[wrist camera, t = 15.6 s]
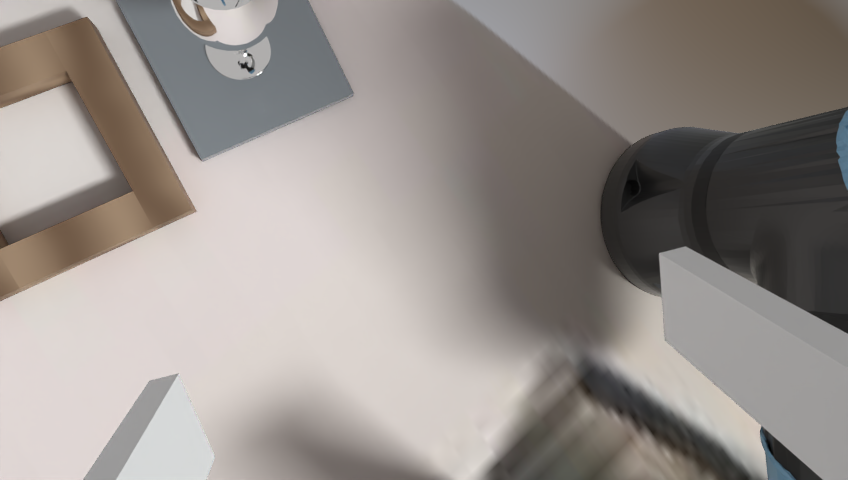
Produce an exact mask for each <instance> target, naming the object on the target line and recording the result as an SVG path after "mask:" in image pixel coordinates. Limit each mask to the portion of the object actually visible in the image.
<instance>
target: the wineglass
mask: <svg viewBox="0 0 848 480" xmlns="http://www.w3.org/2000/svg"><path fill="white" fill-rule="evenodd" d="M169 2H170V4H171V7H172V9H173V11H174V13H175V15H176V17H177V18H178V20H179V21H180V23H181V24H182V25H183V27H184V28H185V29H186V30H187V31H188V32H189V33H190V34H191V35H192V36H194V37H195V38H196V39H197V40H199V41H200V42H202V43H204V44H205V50H206V55H207V58H208V60H209V62H210V64H211V65H212V66H213V67H214V69H215V70H217V71H218V72H219V73H220V74H222V75H223V76H225V77H227V78H230V79H234V80H249V79H252V78H255V77H257V76H258V75H260V74H261V73H262V72H263V71H264V70H265V69H266V68H267V66H268V64H269V62H270V58H271V46H270V42H269V40H268V37H267V35H268V33H269V32H270V30H271V29H272V27H273V25H274V22H275V19H276V16H277V13H278V6H279V0H169Z"/></svg>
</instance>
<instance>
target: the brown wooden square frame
mask: <svg viewBox="0 0 848 480" xmlns="http://www.w3.org/2000/svg"><path fill="white" fill-rule="evenodd" d="M71 81H72V82H73V84H74V86H75V88H76V89H77V91H78V93H79V95H80V97H81V98H82V100H83V102H84V104H85V106H86V107H87V109H88V111H89V113H90V115H91V116H92V118H93V120H94V122H95V124H96V125H97V127H98V129H99V131H100V133H101V134H102V136H103V138H104V140H105V142H106V144H107V145H108V147H109V149H110V151H111V153H112V154H113V156H114V158H115V160H116V162H117V163H118V165H119V167H120V169H121V171H122V172H123V174H124V176H125V178H126V180H127V181H128V183H129V185H130V187H131V189H132V190H133V191H132V192H130V193H128V194H125V195H123V196H121V197H118V198H116V199H114V200H112V201H109V202H107V203H105V204H102V205H100V206H98V207H96V208H93V209H91V210H89V211H86V212H84V213H82V214H79V215H77V216H75V217H73V218H70V219H68V220H66V221H63V222H61V223H59V224H57V225H54V226H52V227H50V228H47V229H45V230H43V231H40V232H38V233H36V234H34V235H31V236H29V237H27V238H24V239H22V240H20V241H17V242H15V243H13V244H11V245H9V244H8V243H7V241H6V239H5V238H4V236H3V234H2V232H1V231H0V301H2V300H4V299H6V298H8V297H10V296H13V295H15V294H17V293H19V292H21V291H24V290H26V289H28V288H30V287H32V286H34V285H37V284H39V283H41V282H43V281H45V280H48V279H50V278H52V277H54V276H56V275H58V274H61V273H63V272H65V271H67V270H69V269H72V268H74V267H76V266H78V265H80V264H83V263H85V262H87V261H89V260H91V259H93V258H96V257H98V256H100V255H102V254H104V253H107V252H109V251H111V250H113V249H115V248H118V247H120V246H122V245H124V244H126V243H128V242H131V241H133V240H135V239H137V238H139V237H142V236H144V235H146V234H148V233H150V232H152V231H155V230H157V229H159V228H161V227H163V226H166V225H168V224H170V223H172V222H174V221H177V220H179V219H181V218H183V217H185V216H187V215H190V214H192V213H194V212H196V209H195V208H194V206H193V204H192V202H191V200H190V198H189V197H188V195H187V193H186V191H185V189H184V187H183V185H182V184H181V182H180V180H179V178H178V176H177V174H176V173H175V171H174V169H173V167H172V165H171V163H170V162H169V160H168V158H167V156H166V154H165V152H164V150H163V149H162V147H161V145H160V143H159V141H158V139H157V138H156V136H155V134H154V132H153V130H152V128H151V127H150V125H149V123H148V121H147V119H146V117H145V115H144V114H143V112H142V110H141V108H140V106H139V104H138V103H137V101H136V99H135V97H134V95H133V93H132V92H131V90H130V88H129V86H128V84H127V82H126V80H125V79H124V77H123V75H122V73H121V71H120V69H119V68H118V66H117V64H116V62H115V60H114V58H113V56H112V55H111V53H110V51H109V49H108V47H107V45H106V44H105V42H104V40H103V38H102V36H101V34H100V33H99V31H98V29H97V27H96V26H95V25H94V24H93V23H92V22H91V21H90V19H89V18H88V17H85V18H82V19H79V20H76V21H74V22H71V23H68V24H65V25H62V26H59V27H56V28H54V29H51V30H48V31H45V32H42V33H39V34H37V35H34V36H31V37H28V38H25V39H22V40H19V41H17V42H14V43H11V44H8V45H5V46H2V47H0V108H3V107H5V106H8V105H10V104H13V103H16V102H18V101H21V100H24V99H26V98H29V97H32V96H34V95H37V94H40V93H42V92H45V91H48V90H50V89H53V88H56V87H58V86H61V85H64V84H66V83H69V82H71Z"/></svg>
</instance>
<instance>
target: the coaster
mask: <svg viewBox="0 0 848 480" xmlns="http://www.w3.org/2000/svg"><path fill="white" fill-rule="evenodd" d="M116 2H117V3H118V5H119V7H120V9H121V11H122V13H123V15H124V17H125V18H126V20H127V22H128V24H129V26H130V28H131V30H132V31H133V33H134V35H135V37H136V39H137V41H138V43H139V45H140V46H141V48H142V50H143V52H144V54H145V56H146V58H147V59H148V61H149V63H150V65H151V67H152V69H153V71H154V73H155V74H156V76H157V78H158V80H159V82H160V84H161V86H162V88H163V89H164V91H165V93H166V95H167V97H168V99H169V101H170V102H171V104H172V106H173V108H174V110H175V112H176V114H177V116H178V117H179V119H180V121H181V123H182V125H183V127H184V129H185V131H186V132H187V134H188V136H189V138H190V140H191V142H192V144H193V145H194V147H195V149H196V151H197V153H198V155H199V157H200V159H201V160H202V161H205V160H208V159H210V158H212V157H215V156H217V155H219V154H221V153H224V152H226V151H228V150H231V149H233V148H235V147H237V146H240V145H242V144H244V143H247V142H249V141H251V140H253V139H256V138H258V137H260V136H263V135H265V134H267V133H270V132H272V131H274V130H276V129H279V128H281V127H283V126H286V125H288V124H290V123H292V122H295V121H297V120H299V119H302V118H304V117H306V116H309V115H311V114H313V113H315V112H318V111H320V110H322V109H325V108H327V107H329V106H331V105H334V104H336V103H338V102H341V101H343V100H345V99H348V98H350V97H352V96H353V94H354V93H353V91H352V89H351V87H350V85H349V83H348V81H347V79H346V77H345V75H344V73H343V71H342V68H341V66H340V64H339V62H338V60H337V58H336V56H335V54H334V52H333V50H332V48H331V46H330V44H329V42H328V40H327V38H326V36H325V34H324V32H323V30H322V28H321V26H320V24H319V22H318V20H317V18H316V16H315V14H314V11H313V9H312V7H311V5H310V3H309V1H308V0H279V6H278V13H277V16H276V19H275V22H274V25H273V27H272V29H271V30H270V32H269V33H268V35H267V37H268V40H269V42H270V46H271V58H270V62H269V64H268V66H267V68H266V69H265V70H264V71H263V72H262V73H261V74H260V75H258V76H257V77H255V78H252V79H249V80H234V79H230V78H227V77H225V76H223V75H222V74H220V73H219V72H218V71H217V70H215V69H214V67H213V66H212V65H211V64H210V62H209V60H208V58H207V55H206V50H205V44H204V43H202V42H200V41H199V40H197V39H196V38H195V37H194V36H192V35H191V34H190V33H189V32H188V31H187V30H186V29H185V28H184V27H183V25H182V24H181V23H180V21H179V20H178V18H177V17H176V15H175V13H174V11H173V9H172V7H171V4H170V2H169V0H116Z"/></svg>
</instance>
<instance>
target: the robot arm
mask: <svg viewBox="0 0 848 480" xmlns="http://www.w3.org/2000/svg"><path fill="white" fill-rule="evenodd" d="M601 222H602V230H603V235H604V239H605V242H606V245H607V248H608V251H609V253H610V255H611V257H612V259H613V261H614V262H615V264H616V266H617V267H618V269H619V270H620V271H621V272H622V274H623V275H624V276H625V277H626V278H627V279H628V280H629V281H630V282H631V283H633V284H634V285H635V286H637V287H638V288H640V289H642V290H643V291H645V292H647V293H650V294H652V295H655V296H659V297H662V307H663V322H664V337H665V341H666V342H667V343H668V344H669V345H671V346H672V347H673V348H674V349H675V350H676V351H677V352H679V353H680V354H681V355H682V356H683V357H684V358H685V359H686V360H688V361H689V362H690V363H691V364H692V365H693V366H694V367H696V368H697V369H698V370H699V371H700V372H701V373H702V374H703V375H705V376H706V377H707V378H708V379H709V380H710V381H711V382H713V383H714V384H715V385H716V386H717V387H718V388H719V389H720V390H722V391H723V392H724V393H725V394H726V395H727V396H728V397H730V398H731V399H732V400H733V401H734V402H735V403H736V404H738V405H739V406H740V407H741V408H742V409H743V410H744V411H745V412H747V413H748V414H749V415H750V416H751V417H752V418H753V419H755V420H756V421H757V422H758V423H759V424H760V425H761V430H760V438H761V443H762V446H763V448H764V450H765V454H766V464H767V474H768V480H848V107H846V108H842V109H838V110H834V111H829V112H825V113H821V114H817V115H813V116H809V117H805V118H801V119H797V120H793V121H789V122H785V123H781V124H776V125H772V126H768V127H765V128H760V129H756V130H753V131H748V132H744V133H732V132H724V131H717V130H710V129H703V128H695V127H682V128H674V129H669V130H666V131H663V132H659V133H655V134H652V135H649V136H647V137H645V138H643V139H641V140H639V141H637V142H636V143H634V144H633V145H632V146H631V147H629V148H628V149H627V150H626V151H625V152H624V153H623V154H622V155H621V157H620V158H619V159H618V161H617V162H616V164H615V165H614V167H613V169H612V170H611V172H610V175H609V177H608V179H607V182H606V185H605V188H604V193H603V198H602V206H601ZM214 458H215V455H214V453H213V451H212V449H211V446H210V444H209V442H208V439H207V437H206V435H205V432H204V430H203V428H202V426H201V423H200V421H199V419H198V416H197V414H196V412H195V409H194V407H193V405H192V403H191V400H190V398H189V396H188V393H187V391H186V389H185V387H184V384H183V382H182V380H181V377H180V375H179V374H175V375H171V376H167V377H163V378H159V379H155V380H151V381H149V382H148V384H147V385H146V387H145V388H144V390H143V391H142V393H141V394H140V396H139V397H138V399H137V400H136V402H135V403H134V405H133V406H132V408H131V409H130V411H129V412H128V414H127V415H126V417H125V418H124V420H123V421H122V423H121V424H120V426H119V427H118V429H117V430H116V432H115V433H114V435H113V436H112V438H111V439H110V441H109V442H108V443H107V445H106V446H105V448H104V449H103V451H102V452H101V454H100V455H99V457H98V458H97V460H96V461H95V463H94V464H93V466H92V467H91V469H90V470H89V472H88V473H87V475H86V476H85V478H84V479H83V480H207V477H208V475H209V472H210V469H211V466H212V464H213V461H214Z"/></svg>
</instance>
